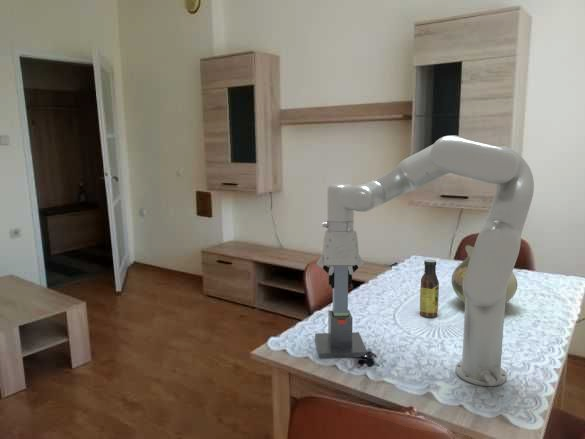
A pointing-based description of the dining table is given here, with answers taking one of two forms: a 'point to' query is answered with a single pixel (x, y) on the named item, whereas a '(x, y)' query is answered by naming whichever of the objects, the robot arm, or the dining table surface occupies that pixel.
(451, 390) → the dining table surface
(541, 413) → the dining table surface
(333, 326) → the jack base
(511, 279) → the pitcher
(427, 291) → the sauce bottle
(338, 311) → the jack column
